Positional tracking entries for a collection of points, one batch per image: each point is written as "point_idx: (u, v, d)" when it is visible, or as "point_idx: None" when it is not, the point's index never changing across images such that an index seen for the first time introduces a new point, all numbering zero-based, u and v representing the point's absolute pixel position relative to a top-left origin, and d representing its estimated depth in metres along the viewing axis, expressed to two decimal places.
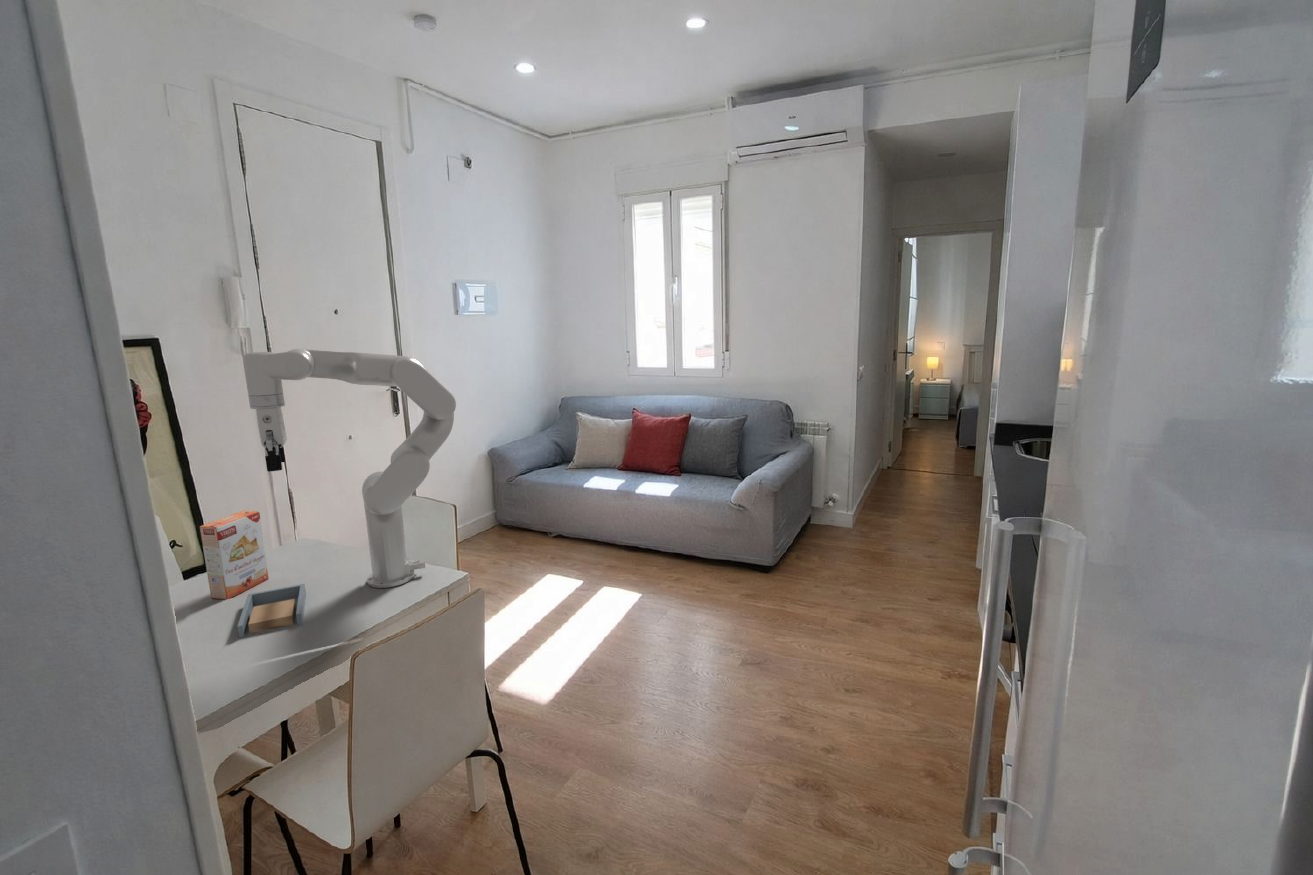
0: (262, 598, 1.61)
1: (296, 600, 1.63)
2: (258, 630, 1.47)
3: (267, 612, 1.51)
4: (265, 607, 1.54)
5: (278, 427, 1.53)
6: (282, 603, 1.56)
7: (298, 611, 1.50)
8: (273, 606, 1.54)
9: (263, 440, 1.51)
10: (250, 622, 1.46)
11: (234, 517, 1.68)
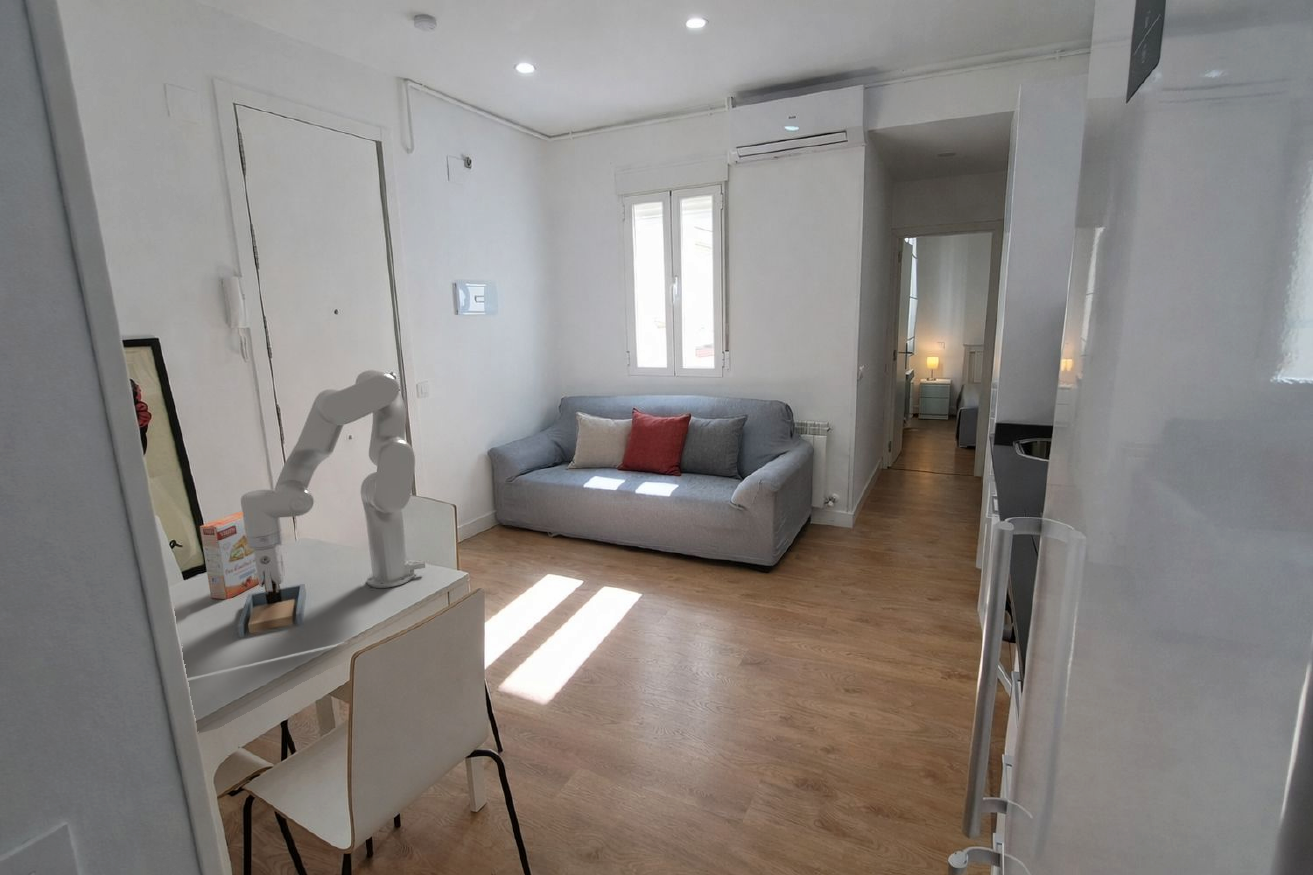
0: (262, 598, 1.61)
1: (296, 600, 1.63)
2: (258, 630, 1.46)
3: (267, 612, 1.51)
4: (265, 607, 1.54)
5: (276, 567, 1.52)
6: (282, 603, 1.56)
7: (298, 611, 1.50)
8: (273, 606, 1.54)
9: None
10: (250, 622, 1.46)
11: (234, 517, 1.68)
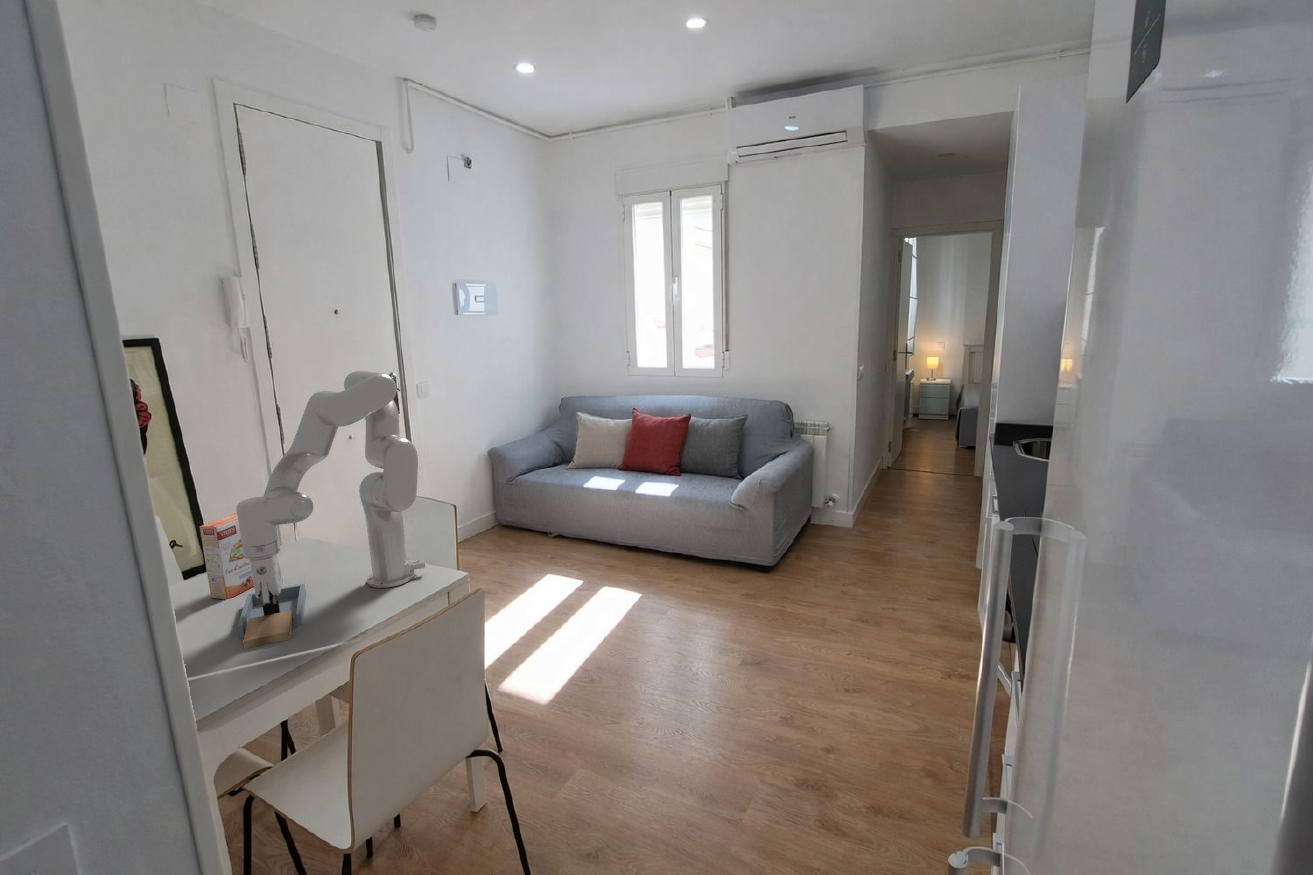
0: None
1: (296, 600, 1.63)
2: None
3: (263, 626, 1.45)
4: (261, 619, 1.47)
5: (273, 577, 1.46)
6: (279, 615, 1.49)
7: (298, 611, 1.50)
8: (269, 618, 1.48)
9: (259, 597, 1.46)
10: (245, 638, 1.40)
11: (234, 517, 1.68)
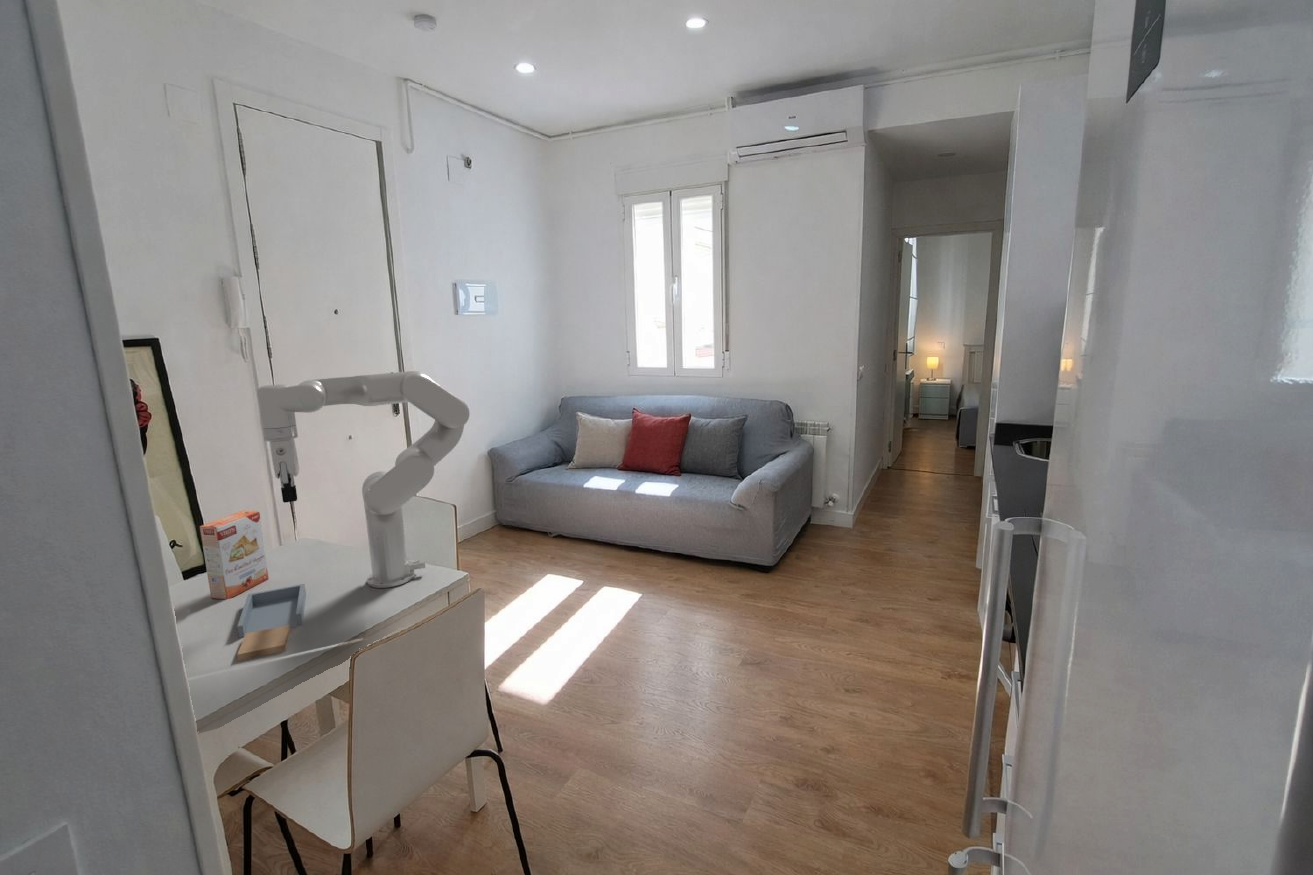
0: (262, 598, 1.61)
1: (296, 600, 1.63)
2: None
3: (259, 640, 1.40)
4: (258, 634, 1.43)
5: (291, 459, 1.55)
6: (276, 630, 1.45)
7: (298, 611, 1.50)
8: (266, 633, 1.43)
9: (278, 478, 1.56)
10: (239, 652, 1.35)
11: (234, 517, 1.68)
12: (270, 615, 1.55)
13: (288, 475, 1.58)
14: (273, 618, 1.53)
